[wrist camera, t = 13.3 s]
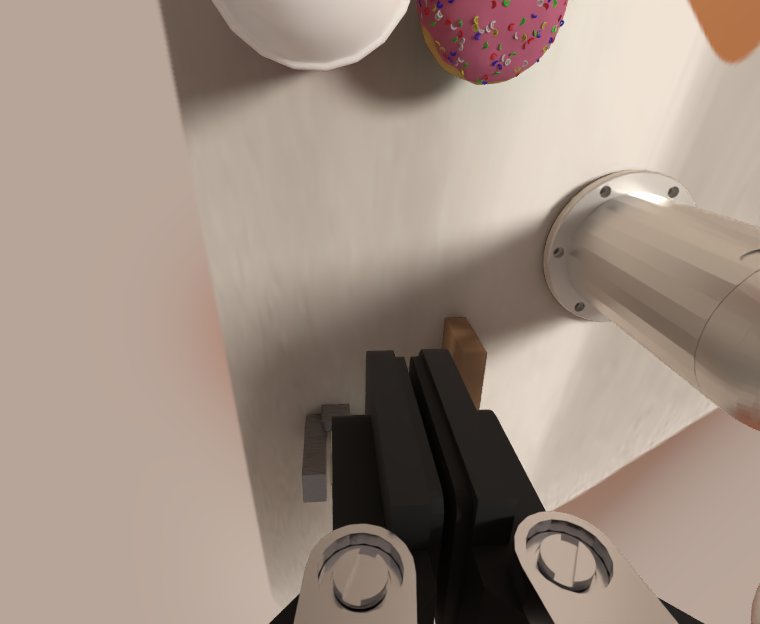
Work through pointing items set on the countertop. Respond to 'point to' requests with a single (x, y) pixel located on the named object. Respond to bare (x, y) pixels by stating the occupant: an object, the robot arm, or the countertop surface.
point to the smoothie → (313, 29)
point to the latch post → (318, 451)
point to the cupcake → (489, 35)
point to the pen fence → (466, 355)
